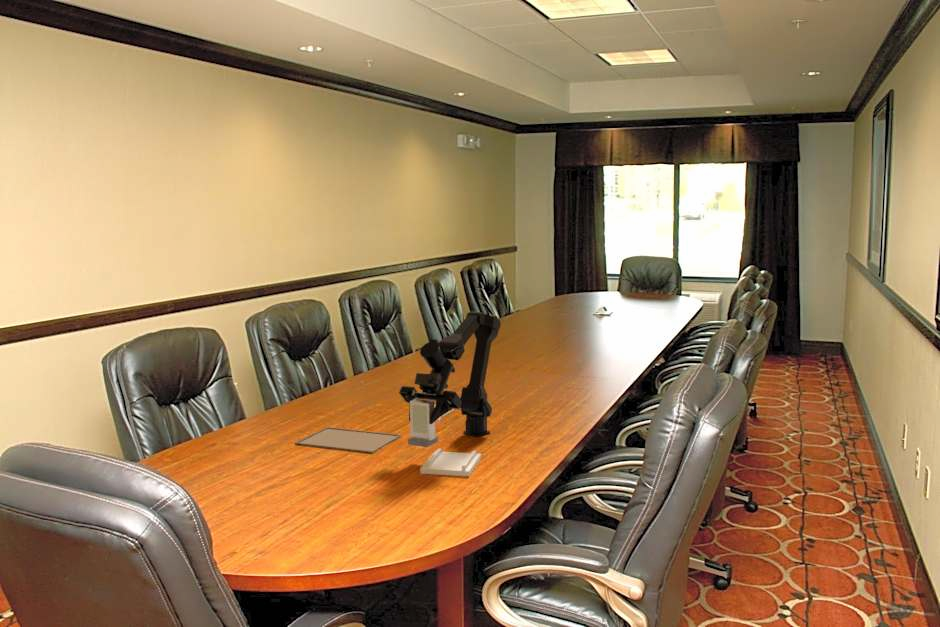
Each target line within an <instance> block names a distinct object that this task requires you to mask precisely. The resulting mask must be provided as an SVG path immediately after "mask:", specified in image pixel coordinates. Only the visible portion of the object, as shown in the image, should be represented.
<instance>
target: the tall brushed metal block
mask: <svg viewBox="0 0 940 627" xmlns="http://www.w3.org/2000/svg"><path fill="white" fill-rule="evenodd" d="M434 408H435V401H434V400H426V399H414V400H411V401H410V421H409V422H410V423H409V425H410V426H409V427H410V430H409V431H410V438H407V444H408V445H409V446H410V445H411V446H417V447H422V448H429V447H431V446H433V445H434V444H436V443H437V442H439V437H438V436H436V421H435V422H434V423H433V424H430V423H429V421H430V418H431V415H432V413H433V411H434Z"/></svg>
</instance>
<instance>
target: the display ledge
mask: <svg viewBox="0 0 940 627" xmlns="http://www.w3.org/2000/svg"><path fill="white" fill-rule="evenodd" d="M442 450H443V449H442V448H437V450H435V451H434V452H433V453H432V454H431V456H429V457H428V459H427V460H426V461H425V462H424V464H423V465H422V466H420V468H419V469H420V470H419V471H420V473H419V474H423V475H435V476H436V475H438V476H439V475H440V476H453V477H454V476H456V477H467V476H469V477H470V476H471V475H470V474H473V472H474V470H475V469H476V467H477V466H478V464H479V463H480V462H481V460H482V453H477V450H475V449H474V450H472V451H471V452H457V451H454V452H453V451H442ZM476 465H477V466H476ZM474 468H475V469H474ZM472 471H473V472H472Z"/></svg>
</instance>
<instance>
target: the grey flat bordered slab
mask: <svg viewBox="0 0 940 627" xmlns="http://www.w3.org/2000/svg"><path fill="white" fill-rule="evenodd" d="M354 431H355V432H354ZM363 432H364V433H363ZM365 432H366V433H365ZM400 436H402V434H398V433H396V434H395V433H387V432H377V431H368V430H359V429H348V428H341V427H340V428H339V427H330V426H327V427H325V428H323V429H321V430H318V431H316V432H314V433H312V434H310V435H308V436H306V437H304V438H301V439H300V440H297V441H296V442H294V445H295V444H301V445H300V446H303V445H308V446H307V447H311V446H316V447H315V448H320V447H325V448H324V449H328V448H333V449H332V450H337V449H342V450H341V451H345V450H352V451H351V452H354V451H361V452H360V453H362V452H368V453H367V454H371V453H374V452H375V453H377V452H378V451H377V450H379V449H380V450H382V449H383V448H382V447H384V446H385V445H387V444H389V443H390V444H392V443H393V442H392V441H394V440H395V441H397V440H398V439H397V438H399V437H400ZM402 437H403V436H402ZM400 438H401V437H400ZM400 438H399V439H400ZM396 439H397V440H396ZM395 441H394V442H395ZM391 442H392V443H391ZM390 444H389V445H390ZM387 446H388V445H387ZM385 447H386V446H385ZM385 447H384V448H385ZM381 448H382V449H381ZM380 450H379V451H380ZM376 451H377V452H376ZM375 453H374V454H375Z"/></svg>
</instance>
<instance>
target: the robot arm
mask: <svg viewBox="0 0 940 627" xmlns="http://www.w3.org/2000/svg"><path fill="white" fill-rule="evenodd" d="M500 328H501V320H500V319H499V318H498V315H490V314H489V315H488V314H486V313H484V312H481V311H468V312H467V314H466V317H465V318H464V319H463V321H461V323H460V324H459V326H458V327H457V328H456V329H455V330H454V331H453V333H451V334H450V335H448V336H444V337H443V338H442V339H441V340H440V341H438V340H437V339H430V341H429V342H427V343H425V344H424V345H423V346H421V348H420V350H419V354H420V355H421V357H422V358H423V360H424V361H425V363H426V365H427V366H428V367H429V368H431V370H430V372H429V373H419V372H416V373H415V374H416V375H415V377H414V378H415V379H414V385H418V386H419V387H418V388H419V390H422V391H417V389H416V388H415V386H410V385H409V386H408V385H402V386H401V387H400V389H399V391H398V394H399V395H400V397H402V399H403V400H404V401H405V403H407V404H409V406H408V408H409V410H408V412H409V413H408V421H409V422H410V401H411V400H414V399H421V400H429V401H434V402H435V405H434V411H433V413H432V415H431V418H430V421H429V423H430V424H433V423H434V422H435V423H436V421H437V420H439V419H440V418H441V417H442V416H443V415H445V414H446V413H448V412H449V411H450V412H451V411H452V409H453V410H454V409H455V410H461V415H462V416H463V415H465V417H466V418H465V419H466V420H465V430H464V431H463V434H467V435H469V436H472V437H480V436H484V435H488V434H491V430H488V417H491V415H492V409H493V408H492V406H491V404H490V402H488V393H487V391H486V388H485V384H486V383H485V382H486V377H487V370H488V365H489V358H490V352H491V346H492V343H493V341H494V340H495V339H496V338H497V337H498V334H499V330H500ZM473 334H474V337H475V339H476V342H475V349H474V354H473V360H472V365H471V371H470V376H469V383H468V384H467V385H466V387H465V386H463V387H462V389H461V394H460V395H461V396H459V395H458V393H457V391H455V390H454V391H452V390H445V389H448V387H449V385H448V384H447V383H448V380H449V378H450V375H451V374H452V373H453V374H455V373H456V369H455V366H454V363H452V362H451V361H459V360H461V358H462V357H463V355H464V353H465V345H466V344H467V342H468V340H470V338H471V337H472V336H473Z"/></svg>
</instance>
